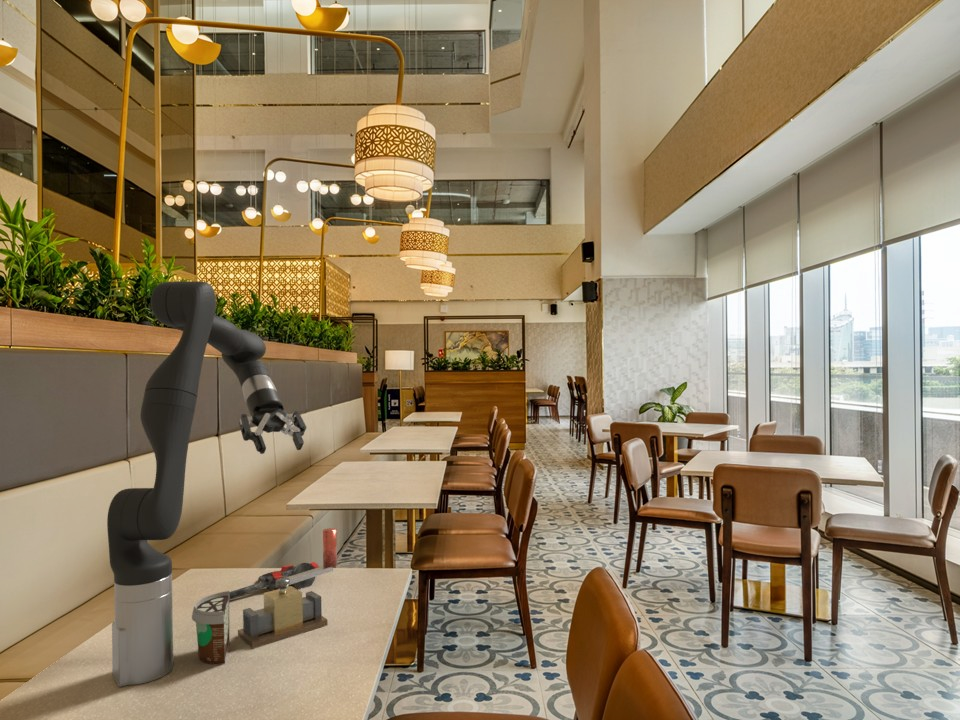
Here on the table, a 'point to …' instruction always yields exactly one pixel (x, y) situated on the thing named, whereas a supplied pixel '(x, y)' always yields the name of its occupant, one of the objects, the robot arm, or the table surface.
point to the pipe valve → (282, 617)
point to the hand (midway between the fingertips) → (282, 449)
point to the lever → (328, 561)
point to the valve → (273, 576)
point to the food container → (212, 627)
